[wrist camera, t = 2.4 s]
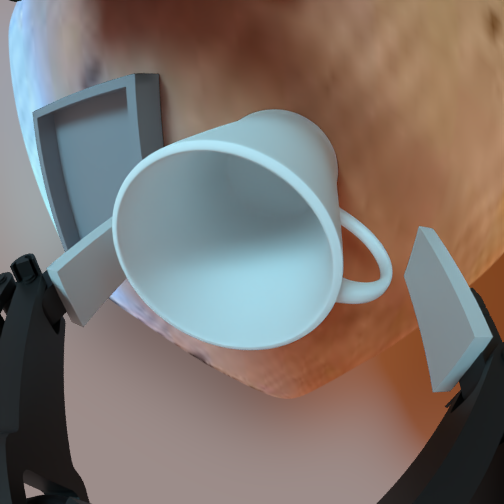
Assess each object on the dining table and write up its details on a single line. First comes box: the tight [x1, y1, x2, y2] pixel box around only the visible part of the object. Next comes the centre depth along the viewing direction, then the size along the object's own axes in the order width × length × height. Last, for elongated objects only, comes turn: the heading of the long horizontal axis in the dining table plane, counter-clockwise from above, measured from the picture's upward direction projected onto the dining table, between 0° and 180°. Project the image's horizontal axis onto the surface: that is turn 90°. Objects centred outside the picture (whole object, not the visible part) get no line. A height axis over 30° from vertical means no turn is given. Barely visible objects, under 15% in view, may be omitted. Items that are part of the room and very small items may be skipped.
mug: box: [112, 109, 392, 350], centre depth 14 cm, size 12×8×12 cm
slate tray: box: [33, 73, 164, 252], centre depth 21 cm, size 14×17×3 cm
